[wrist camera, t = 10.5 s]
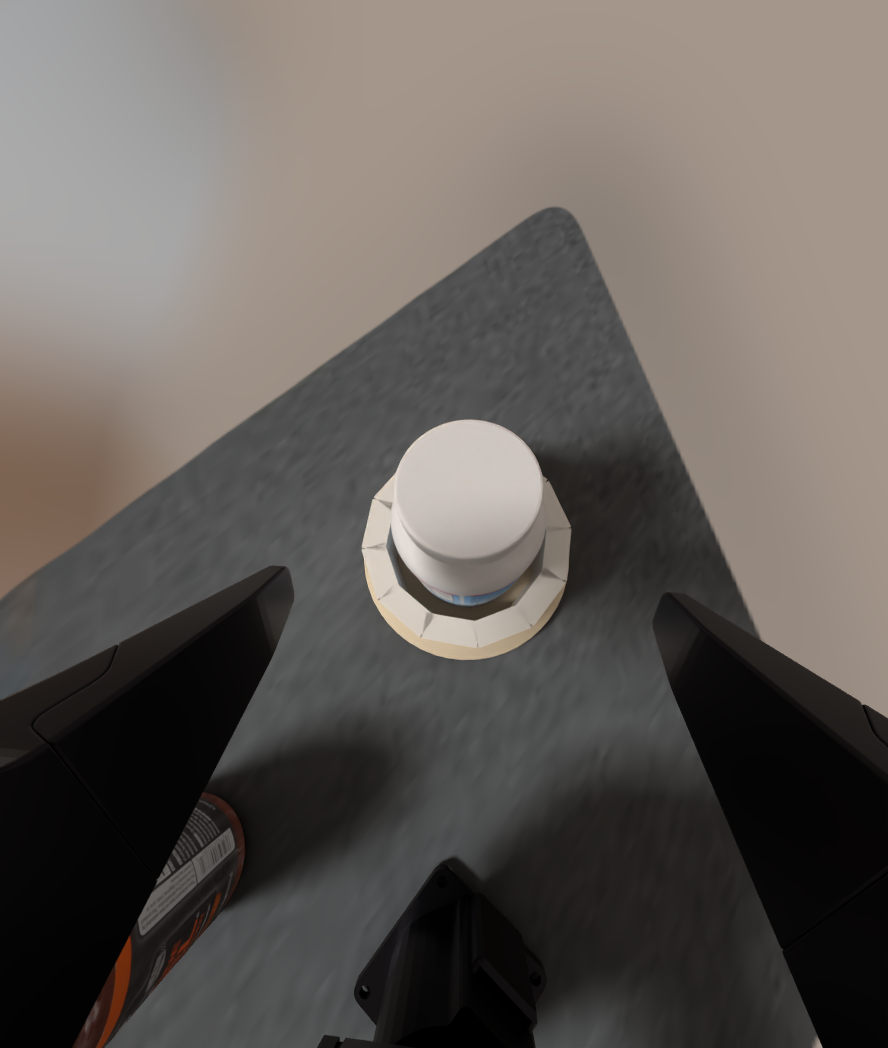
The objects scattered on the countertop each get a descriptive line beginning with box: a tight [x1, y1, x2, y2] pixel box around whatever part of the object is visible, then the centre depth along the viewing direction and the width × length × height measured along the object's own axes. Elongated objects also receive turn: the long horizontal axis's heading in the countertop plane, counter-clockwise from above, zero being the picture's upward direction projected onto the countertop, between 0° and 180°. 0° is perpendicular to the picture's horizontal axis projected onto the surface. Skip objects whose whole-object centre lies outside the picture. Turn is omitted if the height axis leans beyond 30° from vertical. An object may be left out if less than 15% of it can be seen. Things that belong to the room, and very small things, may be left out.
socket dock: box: [362, 473, 571, 660], centre depth 21 cm, size 12×12×4 cm
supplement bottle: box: [72, 792, 245, 1048], centre depth 14 cm, size 6×6×11 cm
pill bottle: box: [391, 420, 546, 607], centre depth 17 cm, size 6×6×11 cm
